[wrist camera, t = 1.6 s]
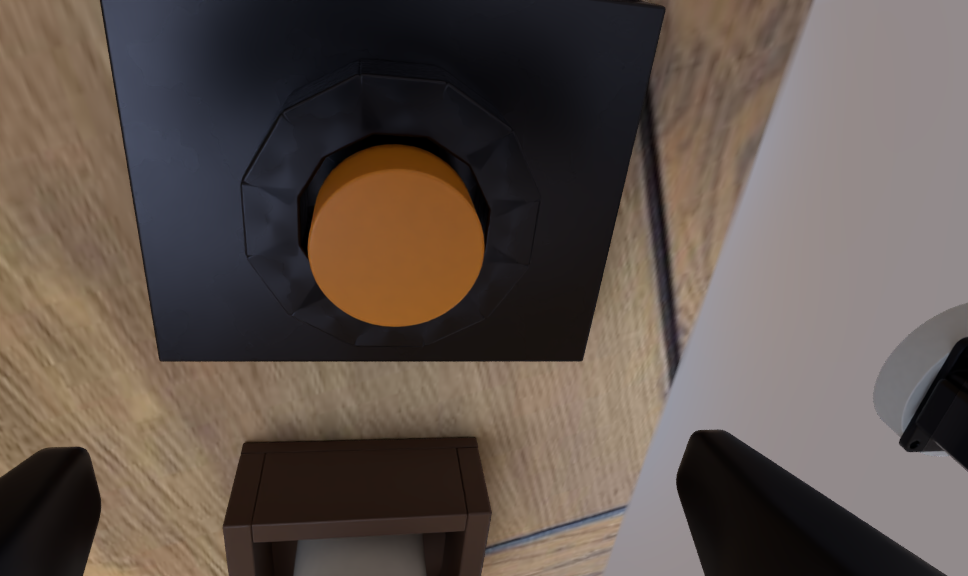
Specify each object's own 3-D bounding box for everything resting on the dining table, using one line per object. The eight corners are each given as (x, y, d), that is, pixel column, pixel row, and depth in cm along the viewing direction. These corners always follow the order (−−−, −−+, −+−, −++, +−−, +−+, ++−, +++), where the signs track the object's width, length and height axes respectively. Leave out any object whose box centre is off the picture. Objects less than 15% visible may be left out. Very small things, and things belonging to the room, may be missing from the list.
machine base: (632, -2, 16) (704, 14, 13) (563, 323, 21) (602, 400, 17) (126, -65, 14) (44, -66, 10) (180, 319, 18) (136, 406, 15)
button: (481, 149, 14) (495, 175, 12) (464, 290, 15) (475, 329, 14) (312, 137, 13) (304, 163, 11) (315, 287, 15) (308, 327, 13)
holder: (476, 436, 23) (492, 513, 20) (455, 579, 26) (466, 661, 23) (242, 442, 21) (222, 526, 18) (257, 593, 25) (241, 683, 22)
